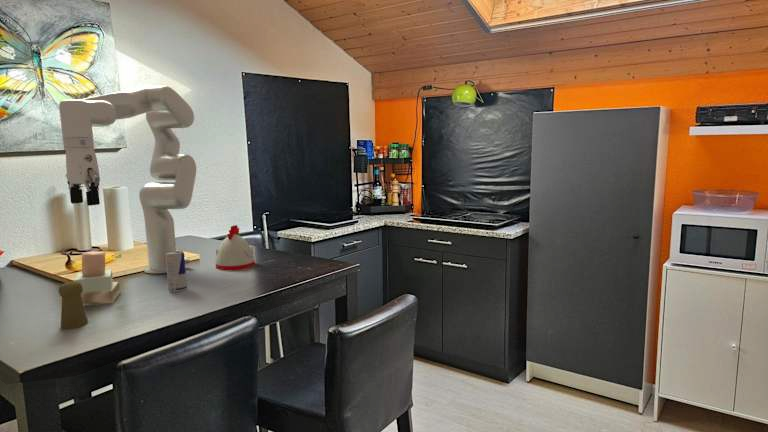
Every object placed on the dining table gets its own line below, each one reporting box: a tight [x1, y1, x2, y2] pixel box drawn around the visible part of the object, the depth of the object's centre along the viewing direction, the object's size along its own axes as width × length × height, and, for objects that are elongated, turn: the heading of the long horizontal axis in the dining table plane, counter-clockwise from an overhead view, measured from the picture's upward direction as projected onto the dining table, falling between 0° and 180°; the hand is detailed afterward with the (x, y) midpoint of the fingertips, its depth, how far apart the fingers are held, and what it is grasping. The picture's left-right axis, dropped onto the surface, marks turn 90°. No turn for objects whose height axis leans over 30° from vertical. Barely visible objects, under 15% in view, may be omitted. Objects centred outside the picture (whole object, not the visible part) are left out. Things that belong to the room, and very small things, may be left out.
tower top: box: [73, 269, 114, 293], centre depth 154 cm, size 9×9×4 cm
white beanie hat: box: [215, 224, 256, 271], centre depth 192 cm, size 14×14×15 cm
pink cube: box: [81, 251, 106, 276], centre depth 154 cm, size 6×6×6 cm
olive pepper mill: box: [58, 281, 89, 330], centre depth 132 cm, size 6×6×11 cm
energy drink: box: [166, 250, 188, 293], centre depth 162 cm, size 5×5×12 cm
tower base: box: [81, 281, 121, 307], centre depth 154 cm, size 11×11×4 cm
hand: (85, 204), depth 152 cm, fingers open, 9 cm apart
